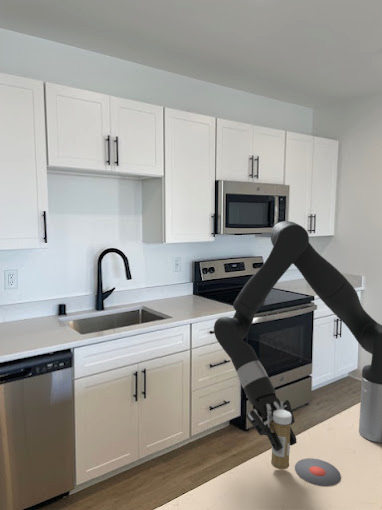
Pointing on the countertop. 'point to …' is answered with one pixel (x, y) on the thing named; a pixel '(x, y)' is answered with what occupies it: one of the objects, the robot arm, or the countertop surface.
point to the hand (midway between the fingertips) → (286, 446)
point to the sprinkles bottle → (281, 438)
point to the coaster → (317, 472)
